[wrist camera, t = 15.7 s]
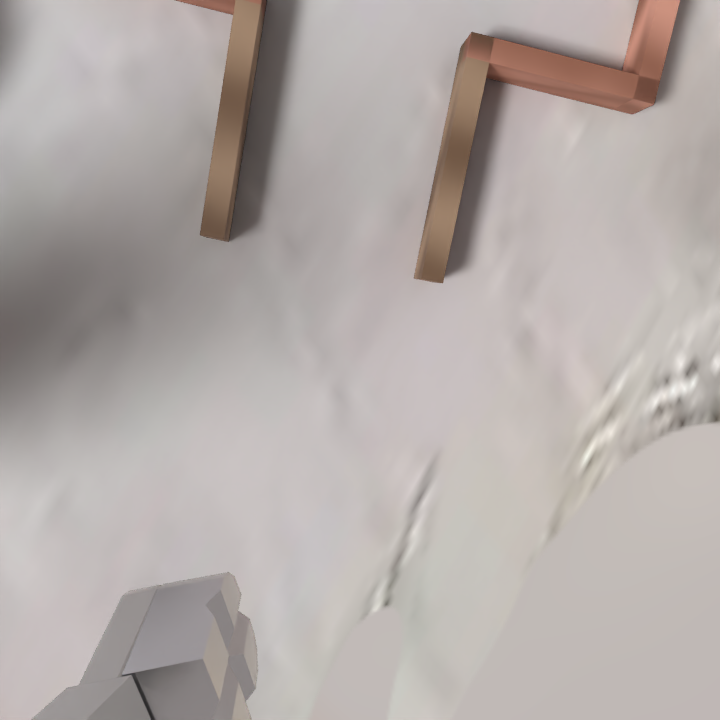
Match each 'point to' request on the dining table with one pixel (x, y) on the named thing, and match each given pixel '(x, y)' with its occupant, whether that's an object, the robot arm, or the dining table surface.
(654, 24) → the channel
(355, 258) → the dining table surface
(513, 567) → the dining table surface
